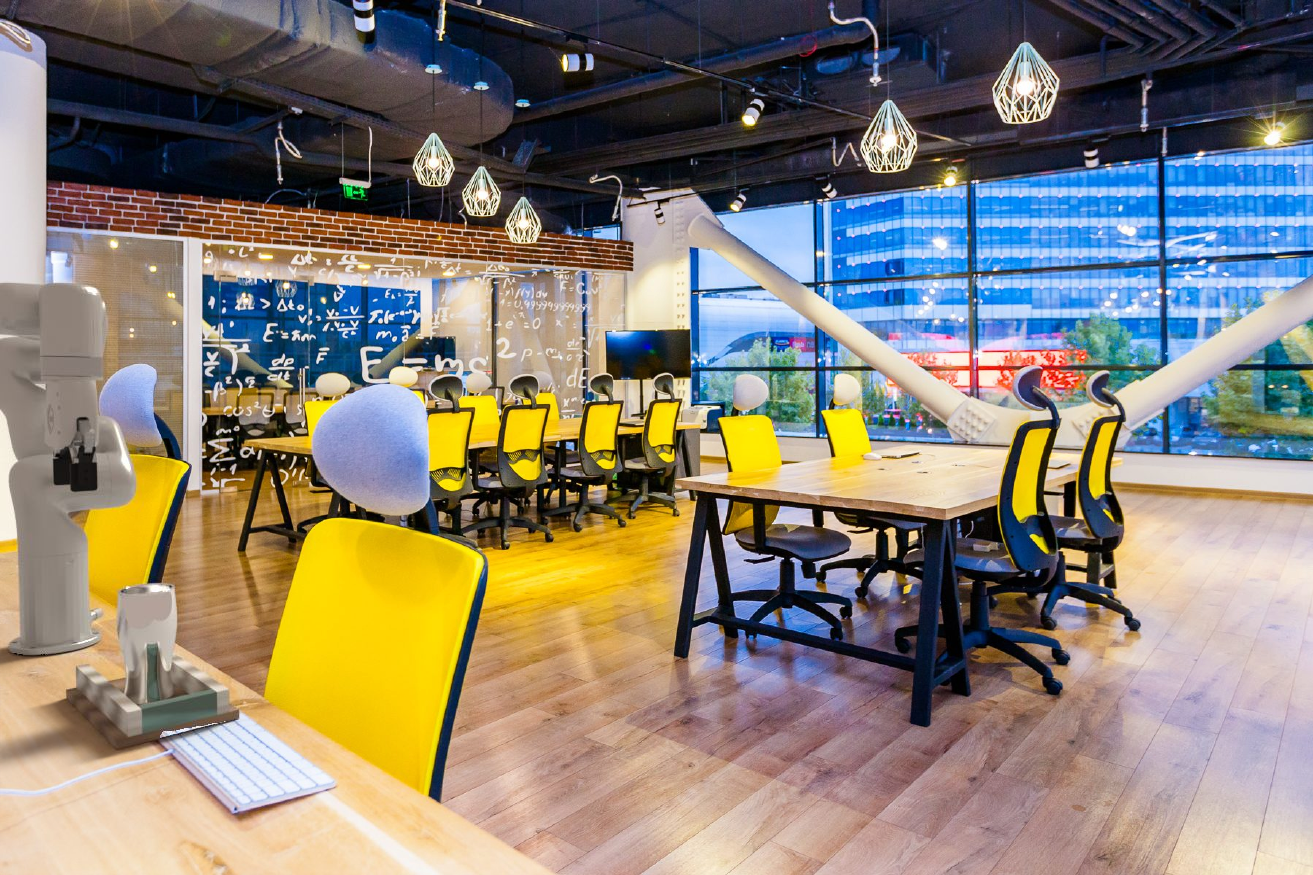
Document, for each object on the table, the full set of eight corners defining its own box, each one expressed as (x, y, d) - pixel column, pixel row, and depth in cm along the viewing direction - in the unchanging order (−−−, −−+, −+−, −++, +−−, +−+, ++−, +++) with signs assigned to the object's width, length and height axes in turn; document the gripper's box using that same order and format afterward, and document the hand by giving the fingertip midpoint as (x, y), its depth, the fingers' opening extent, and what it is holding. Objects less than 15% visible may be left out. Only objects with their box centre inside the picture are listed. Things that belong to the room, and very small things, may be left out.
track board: (66, 698, 120) (65, 668, 119) (176, 674, 130) (176, 647, 130) (117, 749, 103) (116, 715, 103) (239, 718, 113) (238, 686, 113)
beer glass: (190, 694, 118) (188, 585, 117) (141, 711, 112) (138, 596, 111) (156, 686, 121) (153, 580, 120) (106, 703, 115) (103, 591, 114)
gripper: (27, 369, 129) (30, 484, 130) (56, 369, 117) (59, 495, 118) (86, 370, 134) (89, 480, 135) (119, 370, 122) (122, 491, 123)
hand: (75, 487), depth 126 cm, fingers open, 9 cm apart
